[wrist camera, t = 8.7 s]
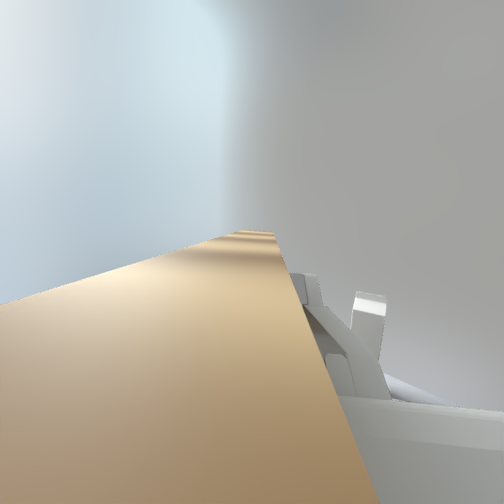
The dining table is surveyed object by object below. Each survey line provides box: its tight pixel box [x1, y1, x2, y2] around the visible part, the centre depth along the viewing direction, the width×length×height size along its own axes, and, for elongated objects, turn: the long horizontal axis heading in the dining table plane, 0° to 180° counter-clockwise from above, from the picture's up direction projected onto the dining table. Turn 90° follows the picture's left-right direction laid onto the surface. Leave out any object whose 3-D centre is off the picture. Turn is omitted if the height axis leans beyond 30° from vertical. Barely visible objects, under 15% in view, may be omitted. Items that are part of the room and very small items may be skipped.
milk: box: [350, 291, 387, 361], centre depth 50 cm, size 6×6×22 cm
